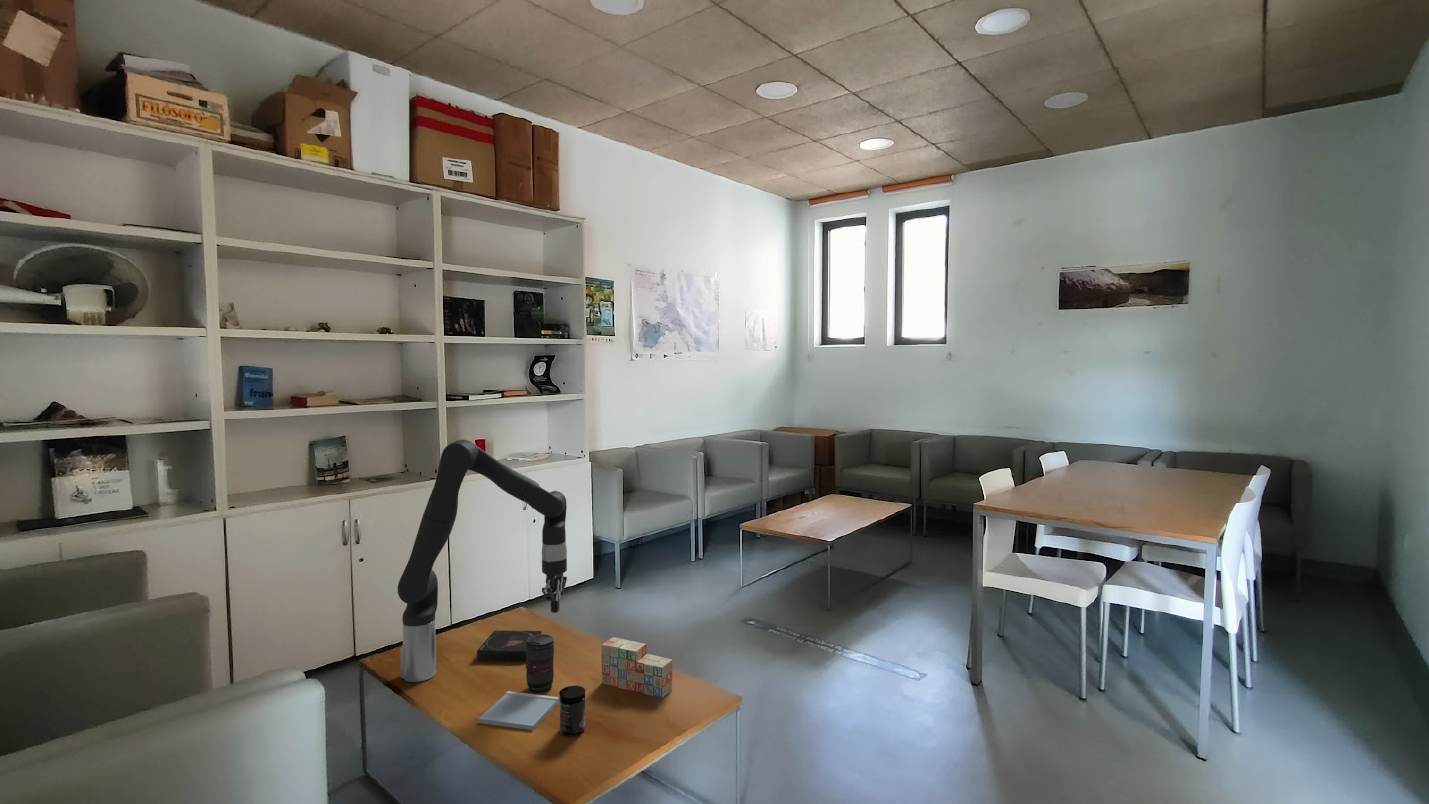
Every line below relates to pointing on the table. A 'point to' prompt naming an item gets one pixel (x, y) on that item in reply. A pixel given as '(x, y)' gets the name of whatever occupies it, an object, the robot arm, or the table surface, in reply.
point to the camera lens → (539, 663)
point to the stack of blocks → (635, 668)
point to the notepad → (519, 710)
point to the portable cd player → (505, 646)
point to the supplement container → (572, 710)
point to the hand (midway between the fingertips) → (555, 611)
